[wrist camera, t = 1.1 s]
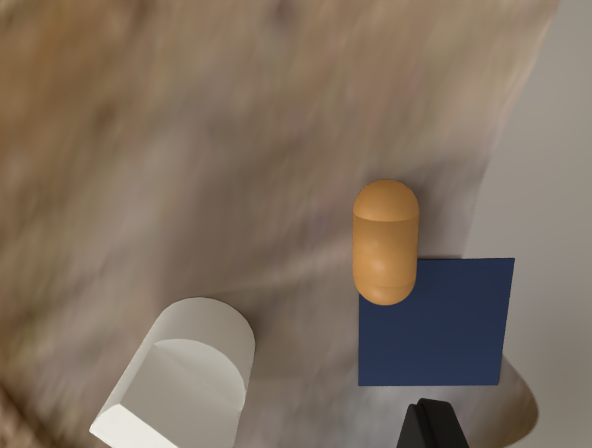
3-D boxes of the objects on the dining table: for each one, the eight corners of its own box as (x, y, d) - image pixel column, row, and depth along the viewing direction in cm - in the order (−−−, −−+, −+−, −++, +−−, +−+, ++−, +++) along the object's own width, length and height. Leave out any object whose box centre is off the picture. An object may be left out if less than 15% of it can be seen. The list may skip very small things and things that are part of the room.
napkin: (359, 260, 36) (359, 261, 36) (514, 257, 35) (515, 258, 35) (358, 384, 40) (358, 386, 40) (497, 384, 39) (497, 385, 39)
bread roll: (350, 174, 34) (356, 188, 29) (413, 172, 33) (427, 186, 29) (350, 289, 37) (355, 317, 32) (408, 288, 36) (421, 316, 32)
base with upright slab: (130, 341, 39) (57, 454, 28) (197, 276, 37) (146, 371, 26) (208, 402, 41) (168, 531, 30) (277, 344, 39) (261, 460, 28)
